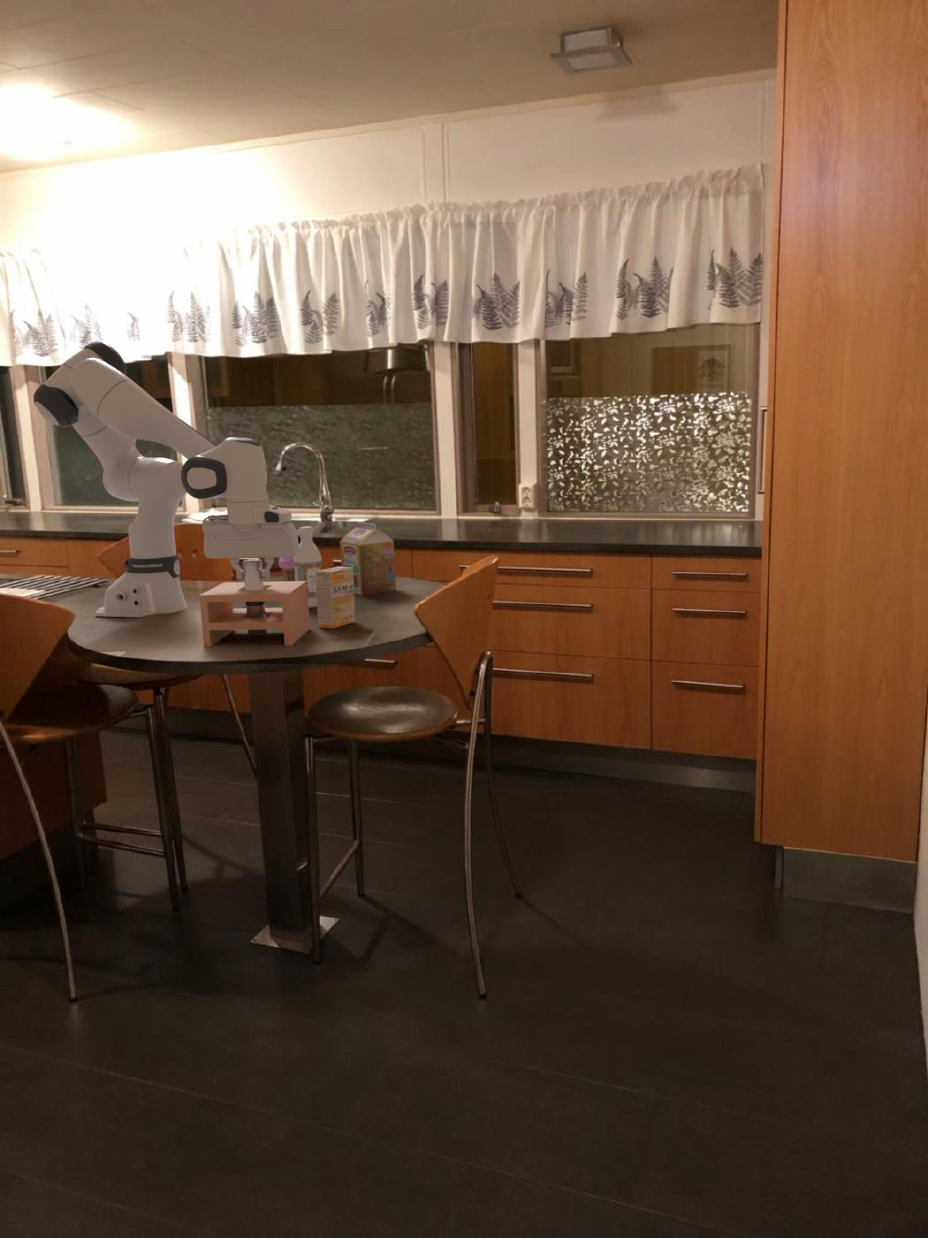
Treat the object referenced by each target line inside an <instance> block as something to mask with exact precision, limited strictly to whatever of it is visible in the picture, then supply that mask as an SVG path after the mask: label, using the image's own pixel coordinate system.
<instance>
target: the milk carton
mask: <svg viewBox="0 0 928 1238" xmlns="http://www.w3.org/2000/svg"><path fill="white" fill-rule="evenodd" d="M339 547H340V550H339V551H340V564H341V566H340V567H353V580H354V595H356V596H360V597H364V596H371V595H375V594H381V593H382V594H383V593H387V592H392V591H397V584H396V583H397V582H396V581H397V580H396V579H397V577H396V562H395V560H396V559H395V557H396V556H395V541H394V539H393V538H391V537H390V536H389V535H387V534H386V533H384V532H382V531H380V530H378V529H377V525H376V523H371V522H363V521H356V522H355V527H354V528H352V529H350V530H349V532H347V533H346V534H345V535H343V537H342V538H341V539H340V541H339Z"/></svg>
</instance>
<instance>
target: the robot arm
mask: <svg viewBox="0 0 928 1238" xmlns="http://www.w3.org/2000/svg"><path fill="white" fill-rule="evenodd" d="M33 403H34V405H35V407H36V409H37V411H38V412H39V414H40V416H41V417H42V418H43V419H44V420H45V421H47V422H49V423H50V424H52V425H55V426H56V427H58V428H63V429H64V428H69V427H71V426H72V427H73V429H74V430H75V431H76V433H77V434H79V436H80V437H81V438H82V440H83V441H84V442H85V443H86V444H87V446H88V447H89V448H90V450H91V451H92V452H93V453H94V455H95V456H96V458H97V459H98V460H99V462H100V464H101V466H102V469H103V473H102V482H103V483H102V484H103V487H104V489H105V491H106V492H107V493H108V494H109V495H110V496H112V497H114V498H117V499H119V500H122V501H126V502H138V509H137V513H136V516H135V518H134V520H132V522H130V524H129V525H128V529H127V531H128V532H127V533H128V540H129V541H128V543H129V550H130V552H129V553H130V556H129V558H127V559H126V560H124V561H123V562H121V564H122V565H121V567H124V568H125V570H124V571H125V572H124V573H123V574H122V575H121V576H120V577H119V578H117V579H116V580H115V581H114V582H113V583H112V584H111V585H109V586H108V588H106V591H105V593H104V599H103V602H104V603H103V606H102V607H99V608H98V609H96V610H95V616H96V617H115V618H116V617H117V618H122V617H123V618H124V617H125V618H142V617H146V616H151V615H157V614H174V613H178V612H182V611H185V610H187V609H188V604H187V603H186V600H185V596H184V594H183V590H182V586H181V582H180V580H181V579H180V573H181V571H180V561H179V556H178V554H177V552H176V539H175V537H176V536H175V535H176V534H175V520H176V514H177V510H178V508H179V506H180V505H179V504H180V503H181V501H182V499H183V498H184V497H185V496H186V495H187V494H188V495H189V496H190V497H193V498H194V499H198V500H204V501H206V500H213V499H214V500H215V499H221V498H225V501H226V509H227V510H226V511H227V512H226V513H227V514H219V515H214V514H212V515H208V516H207V517H205V518H204V519H203V520H202V523H201V527H202V532H203V534H204V535H203V536H204V537H203V554H204V556H205V557H206V558H207V559H211V560H212V559H229V560H230V561H229V563H230V564H231V566H232V569H233V570H234V571H235V573H236V579H237V580H244V573H243V568H242V567H241V566H240V565H239V562H241V561H240V559H259V558H265V562H266V563H268V564H267V566H266V568H265V569H263V570H261V574H262V575H261V578H263V579H270V578H271V573H270V568H271V566H272V564H273V562H274V557H294V556H295V555H297V553H298V552H299V544H300V543H299V537H298V533H297V529H296V526H295V524H294V523H293V522H291V520H292V519H293V514H292V511H291V510H288V509H286V508H281V507H279V506H275V505H272V504H270V499H269V495H268V492H267V483H268V472H267V470H268V469H267V461H266V456H265V452H264V449H263V445H262V444H261V443H260V441H257V440H256V439H253V438H248V437H243V436H242V437H240V436H229V437H227V438H224V440H223V441H222V442H221V443H220V444H218V445H217V444H215V442H213V441H211V440H210V439H209V438H207V437H206V436H205V435H203V434H202V433H200V432H199V431H198V430H196V429H195V427H193V426H191V425H189V424H188V423H187V422H186V421H184V420H182V419H181V418H180V417H178V416H176V414H174V413H173V412H171V411H170V410H169V409H168V408H167V407H165V406H164V405H163V404H161V403H160V402H158V401H157V399H155V398H154V397H153V396H151V394H149V393H148V392H146V391H145V390H144V389H143V388H142V387H141V386H139V384H138V383H136V381H133V379H131V378H130V377H128V376H127V364H126V362H125V361H124V358H123V357H122V356H121V354H120V353H119V352H118V351H117V350H116V349H115V348H113V346H111V345H110V344H108V343H106V342H104V341H101V340H95V341H93V342H91V343H88V344H86V345H84V347H83V349H81V350H79V351H78V352H77V353H75V354H73V355H72V356H71V357H69V358H68V359H66V360H65V361H64V362H63V363H62V364H61V365H60V367H58V369H56V370H55V371H54V372H53V373H52V374H51V376H49V377H48V379H46V381H45V382H44V383H41V384H40V385H39V386H38V387H37V388H36V390H35V391H34V393H33ZM137 440H140V441H149V442H151V443H158V444H161V445H165V446H167V447H169V448H171V449H173V450H174V451H176V452H178V454H180V455H181V456H183V457H184V458H185V459H187V460H186V461H185V462H184V463H181V462H179V461H177V460H174V459H171V458H167V457H145V456H144V455H142V454H141V453H140V452H139V451H138V447H137V446H136V444H137Z"/></svg>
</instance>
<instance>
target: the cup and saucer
mask: <svg viewBox="0 0 928 1238" xmlns="http://www.w3.org/2000/svg"><path fill="white" fill-rule="evenodd" d="M258 559H259V560H262V570H263V569H265V568H266V566H267V564H268V563H266V562H265V558H258ZM279 559H280V557H274V562H273V564H272V566H271V568H270V574H273V573H275V574H276V573H281V572H283V569H282V568H281V567H280V566H279Z"/></svg>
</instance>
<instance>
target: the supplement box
mask: <svg viewBox="0 0 928 1238" xmlns="http://www.w3.org/2000/svg"><path fill="white" fill-rule="evenodd" d="M315 575H316V591H317V607H316V609H317V622H318V623H317V624H318V626H317V627H319V628H323V629H337V628H341V627H343V626H346V625H350V624H353V623H356V608H355V607H356V604H355V603H356V602H355V601H356V600H355V594H354V580H353V567H341V566H335V567H330V568H325V569H323V570H320V571H315Z"/></svg>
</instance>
